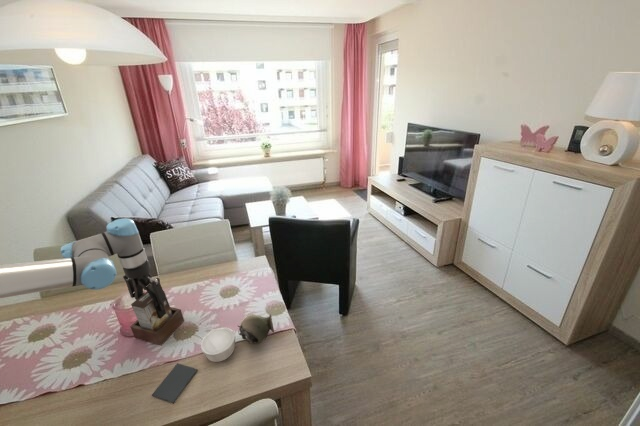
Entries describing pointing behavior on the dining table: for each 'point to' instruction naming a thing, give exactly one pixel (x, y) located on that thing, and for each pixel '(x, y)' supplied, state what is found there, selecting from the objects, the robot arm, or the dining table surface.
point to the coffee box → (150, 312)
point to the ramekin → (218, 344)
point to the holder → (162, 332)
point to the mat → (174, 383)
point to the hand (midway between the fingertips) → (154, 313)
